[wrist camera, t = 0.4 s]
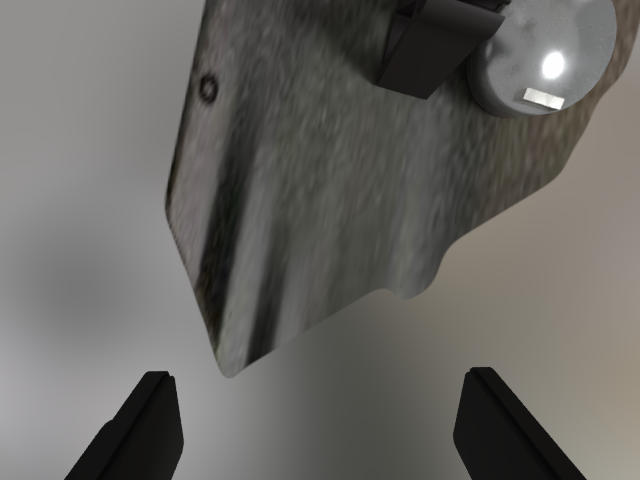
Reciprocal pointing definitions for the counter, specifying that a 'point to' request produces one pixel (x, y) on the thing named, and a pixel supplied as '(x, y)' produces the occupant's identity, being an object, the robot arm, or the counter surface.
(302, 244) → the counter surface
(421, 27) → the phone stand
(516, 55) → the grey short round piece
